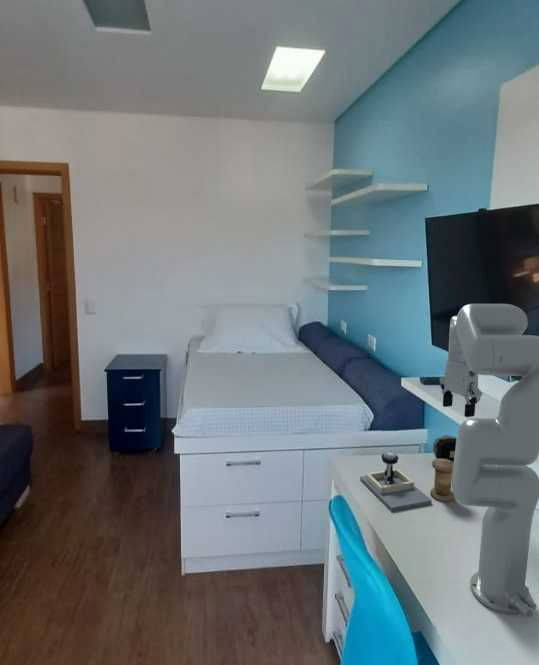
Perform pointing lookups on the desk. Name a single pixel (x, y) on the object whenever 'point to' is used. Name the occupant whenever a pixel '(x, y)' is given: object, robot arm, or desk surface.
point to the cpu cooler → (445, 447)
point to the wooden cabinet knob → (442, 480)
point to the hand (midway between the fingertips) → (458, 411)
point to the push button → (389, 466)
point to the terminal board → (395, 490)
